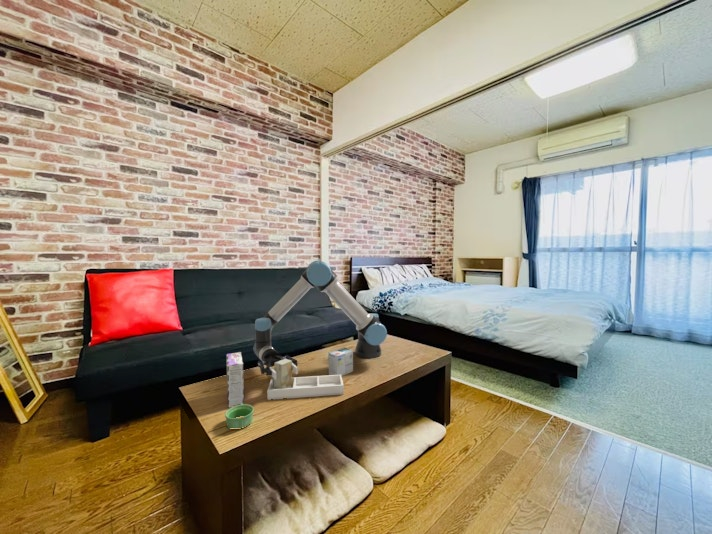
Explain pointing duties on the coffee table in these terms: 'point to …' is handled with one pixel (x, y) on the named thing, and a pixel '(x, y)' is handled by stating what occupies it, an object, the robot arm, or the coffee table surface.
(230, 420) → the ramekin
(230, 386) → the candy box
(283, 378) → the skincare box
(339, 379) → the compartment tray
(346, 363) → the light bulb box
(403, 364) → the coffee table surface
